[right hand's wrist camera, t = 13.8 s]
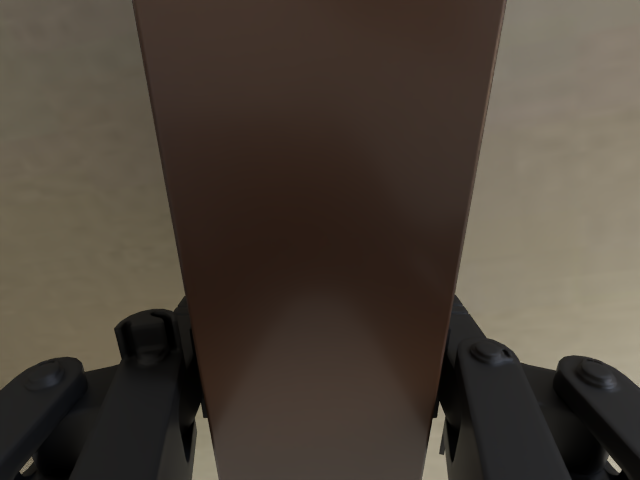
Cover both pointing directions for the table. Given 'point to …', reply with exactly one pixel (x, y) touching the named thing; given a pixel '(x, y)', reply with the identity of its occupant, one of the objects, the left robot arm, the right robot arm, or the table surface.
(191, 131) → the beam
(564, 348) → the table surface
